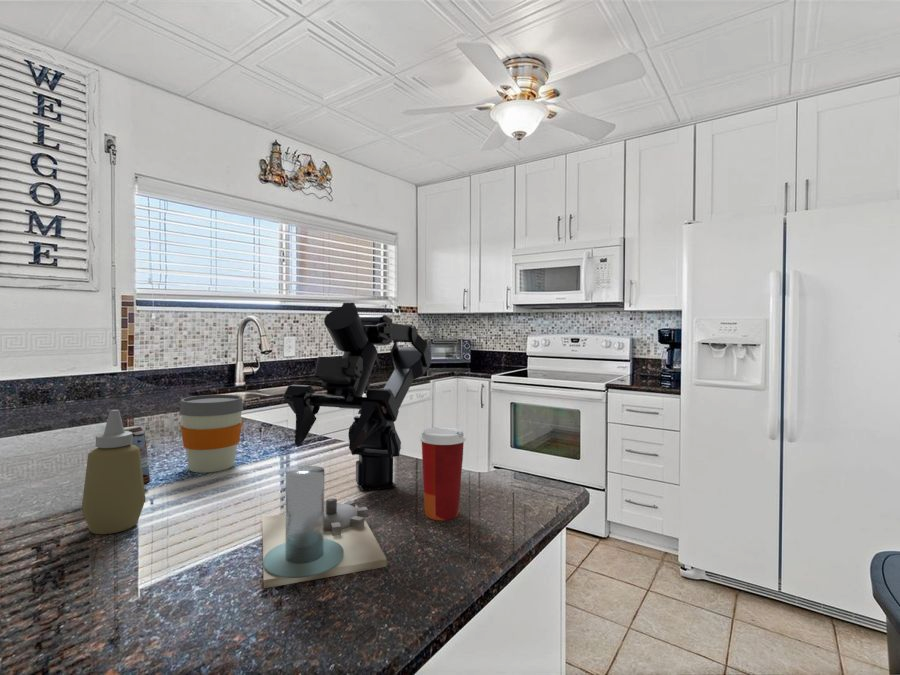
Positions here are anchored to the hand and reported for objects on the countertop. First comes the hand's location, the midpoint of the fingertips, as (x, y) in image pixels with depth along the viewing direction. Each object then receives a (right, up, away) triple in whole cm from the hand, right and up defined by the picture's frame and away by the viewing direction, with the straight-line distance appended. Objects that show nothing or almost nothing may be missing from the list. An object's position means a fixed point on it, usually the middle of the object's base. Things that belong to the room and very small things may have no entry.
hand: (323, 447), depth 74 cm
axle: (+1, -11, -11) cm, 16 cm away
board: (+1, -13, -5) cm, 14 cm away
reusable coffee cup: (-33, -12, +31) cm, 47 cm away
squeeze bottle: (-32, -12, -1) cm, 34 cm away
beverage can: (-40, -12, +15) cm, 45 cm away
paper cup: (+18, -13, +6) cm, 23 cm away
